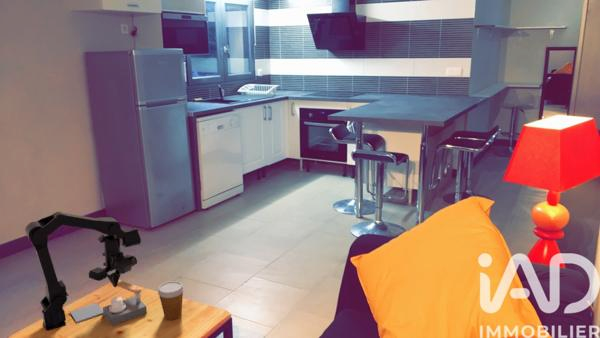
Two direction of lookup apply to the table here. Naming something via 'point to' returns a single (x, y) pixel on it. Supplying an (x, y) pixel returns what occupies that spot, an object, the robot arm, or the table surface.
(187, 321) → the table surface
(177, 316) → the disposable coffee cup
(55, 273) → the robot arm
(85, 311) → the mat
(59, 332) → the table surface
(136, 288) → the light orange flat bar
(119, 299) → the plug
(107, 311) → the socket base
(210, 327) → the table surface
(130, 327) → the table surface
